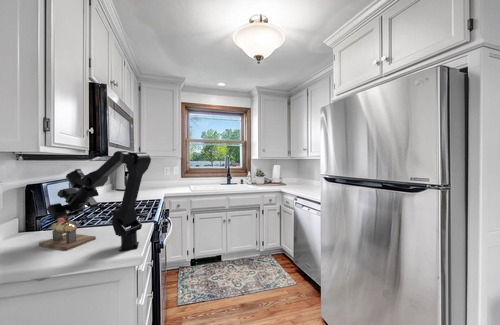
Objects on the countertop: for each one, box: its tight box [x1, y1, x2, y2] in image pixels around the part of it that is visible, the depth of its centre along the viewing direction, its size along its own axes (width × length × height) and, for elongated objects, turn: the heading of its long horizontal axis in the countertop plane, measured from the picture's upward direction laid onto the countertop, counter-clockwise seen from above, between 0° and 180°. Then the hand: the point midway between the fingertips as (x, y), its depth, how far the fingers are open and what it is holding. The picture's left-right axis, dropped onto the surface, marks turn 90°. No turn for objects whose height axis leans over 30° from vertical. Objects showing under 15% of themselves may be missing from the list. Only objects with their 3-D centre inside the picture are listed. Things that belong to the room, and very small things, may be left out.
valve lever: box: [57, 217, 80, 227], centre depth 102 cm, size 2×2×11 cm
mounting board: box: [38, 233, 96, 251], centre depth 98 cm, size 16×12×1 cm
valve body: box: [50, 222, 78, 244], centre depth 97 cm, size 11×6×8 cm, turn 73°
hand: (65, 218), depth 103 cm, fingers closed, pressing on valve lever
